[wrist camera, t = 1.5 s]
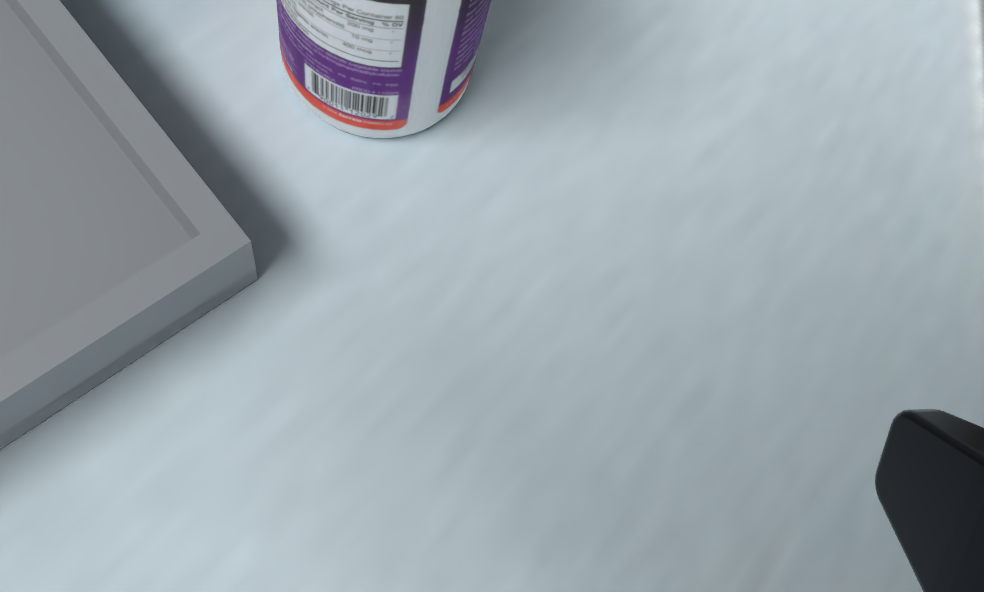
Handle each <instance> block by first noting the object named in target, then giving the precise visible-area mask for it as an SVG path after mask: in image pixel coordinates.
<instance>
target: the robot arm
mask: <svg viewBox="0 0 984 592" xmlns="http://www.w3.org/2000/svg"><path fill="white" fill-rule="evenodd" d="M875 485H876V491H877V495H878V498H879V500H880V502H881V504H882V506H883V509H884V511H885V513H886V515H887V517H888V519H889V521H890V523H891V525H892V527H893V529H894V531H895V533H896V536H897V538H898V540H899V542H900V544H901V546H902V548H903V550H904V552H905V554H906V556H907V558H908V560H909V562H910V565H911V567H912V569H913V571H914V573H915V575H916V577H917V579H918V581H919V583H920V585H921V587H922V589H923V591H924V592H984V428H983V427H980V426H978V425H975V424H973V423H970V422H968V421H966V420H963V419H961V418H958V417H956V416H954V415H951V414H949V413H946V412H944V411H941V410H935V409H921V410H904V411H902V412H900V413H899V414H897V416H896V417H895V418H894V419H893V422H892V424H891V427H890V430H889V433H888V436H887V439H886V443H885V446H884V449H883V452H882V455H881V458H880V461H879V465H878V468H877V471H876V477H875Z"/></svg>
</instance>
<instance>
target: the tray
mask: <svg viewBox="0 0 984 592" xmlns="http://www.w3.org/2000/svg"><path fill="white" fill-rule="evenodd" d="M256 280H258V276H257V271H256V265H255V260H254V254H253V249H252V243H251V240H250V239H249V238H248V237H247V235H246V234H245V233H244V231H243V230H242V229H241V228H240V226H239V225H238V224H237V223H236V221H235V220H234V219H233V218H232V216H231V215H230V214H229V213H228V211H227V210H226V209H225V208H224V206H223V205H222V204H221V203H220V201H219V200H218V199H217V198H216V196H215V195H214V194H213V193H212V191H211V190H210V189H209V187H208V186H207V185H206V184H205V182H204V181H203V180H202V179H201V177H200V176H199V175H198V174H197V172H196V171H195V170H194V169H193V167H192V166H191V165H190V164H189V162H188V161H187V160H186V159H185V157H184V156H183V155H182V154H181V152H180V151H179V150H178V149H177V147H176V146H175V145H174V143H173V142H172V141H171V140H170V138H169V137H168V136H167V135H166V133H165V132H164V131H163V130H162V128H161V127H160V126H159V125H158V123H157V122H156V121H155V120H154V118H153V117H152V116H151V115H150V113H149V112H148V111H147V110H146V108H145V107H144V106H143V105H142V103H141V102H140V101H139V99H138V98H137V97H136V96H135V94H134V93H133V92H132V91H131V89H130V88H129V87H128V86H127V84H126V83H125V82H124V81H123V79H122V78H121V77H120V76H119V74H118V73H117V72H116V71H115V69H114V68H113V67H112V66H111V64H110V63H109V62H108V60H107V59H106V58H105V57H104V55H103V54H102V53H101V52H100V50H99V49H98V48H97V47H96V45H95V44H94V43H93V42H92V40H91V39H90V38H89V37H88V35H87V34H86V33H85V32H84V30H83V29H82V28H81V27H80V25H79V24H78V23H77V22H76V20H75V19H74V18H73V16H72V15H71V14H70V13H69V11H68V10H67V9H66V8H65V6H64V5H63V4H62V3H61V1H60V0H0V449H2V448H3V447H5V446H6V445H8V444H9V443H11V442H13V441H14V440H16V439H17V438H19V437H20V436H22V435H23V434H25V433H26V432H28V431H29V430H31V429H32V428H34V427H35V426H37V425H38V424H40V423H41V422H43V421H44V420H46V419H47V418H49V417H50V416H52V415H53V414H55V413H56V412H58V411H59V410H61V409H62V408H64V407H65V406H67V405H68V404H70V403H72V402H73V401H75V400H76V399H78V398H79V397H81V396H82V395H84V394H85V393H87V392H88V391H90V390H91V389H93V388H94V387H96V386H97V385H99V384H100V383H102V382H103V381H105V380H106V379H108V378H109V377H111V376H112V375H114V374H115V373H117V372H118V371H120V370H121V369H123V368H124V367H126V366H127V365H129V364H131V363H132V362H134V361H135V360H137V359H138V358H140V357H141V356H143V355H144V354H146V353H147V352H149V351H150V350H152V349H153V348H155V347H156V346H158V345H159V344H161V343H162V342H164V341H165V340H167V339H168V338H170V337H171V336H173V335H174V334H176V333H177V332H179V331H180V330H182V329H183V328H185V327H186V326H188V325H189V324H191V323H193V322H194V321H196V320H197V319H199V318H200V317H202V316H203V315H205V314H206V313H208V312H209V311H211V310H212V309H214V308H215V307H217V306H218V305H220V304H221V303H223V302H224V301H226V300H227V299H229V298H230V297H232V296H233V295H235V294H236V293H238V292H239V291H241V290H242V289H244V288H245V287H247V286H248V285H250V284H252V283H253V282H255V281H256Z"/></svg>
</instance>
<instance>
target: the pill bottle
mask: <svg viewBox="0 0 984 592" xmlns="http://www.w3.org/2000/svg"><path fill="white" fill-rule="evenodd" d="M490 2H491V0H277V12H278V24H279V40H280V49H281V55H282V62H283V66H284V70H285V73H286V76H287V78H288V81H289V83H290V85H291V87H292V89H293V90H294V92H295V93H296V95H297V96H298V98H299V99H300V100H301V101H302V103H303V104H304V105H305V106H306V107H307V108H308V109H309V110H310V111H312V112H313V113H314V114H315V115H316V116H318V117H319V118H320V119H322V120H323V121H325V122H327V123H328V124H330V125H332V126H334V127H336V128H338V129H340V130H342V131H345V132H347V133H351V134H354V135H358V136H363V137H370V138H394V137H401V136H406V135H410V134H414V133H417V132H419V131H422V130H424V129H426V128H428V127H430V126H432V125H434V124H435V123H437V122H438V121H439V120H441V119H442V118H443V117H445V116H446V115H447V114H448V113H449V112H450V111H451V110H452V109H453V108H454V107H455V105H456V104H457V103H458V102H459V100H460V98H461V97H462V95H463V93H464V92H465V90H466V87H467V85H468V82H469V79H470V76H471V74H472V70H473V67H474V64H475V60H476V55H477V51H478V48H479V44H480V40H481V36H482V32H483V28H484V24H485V21H486V17H487V13H488V9H489V6H490Z"/></svg>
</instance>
